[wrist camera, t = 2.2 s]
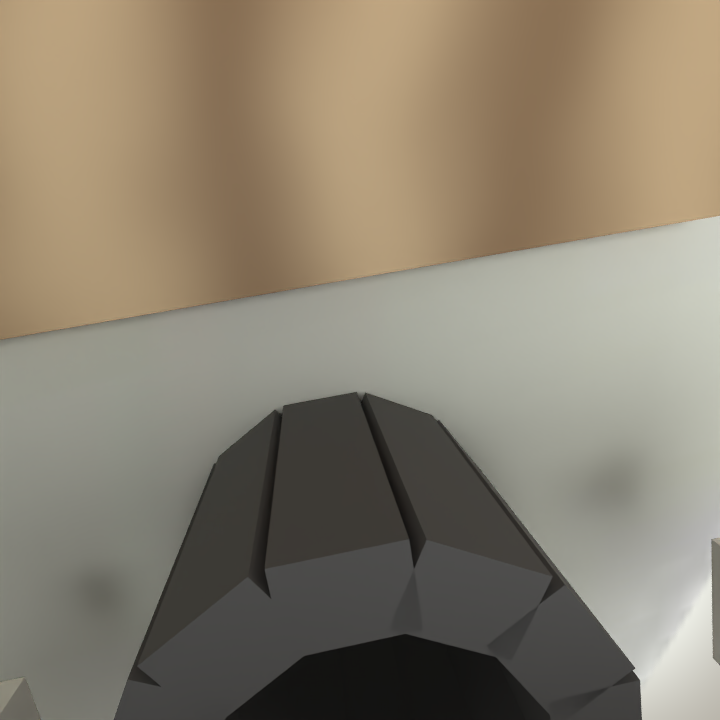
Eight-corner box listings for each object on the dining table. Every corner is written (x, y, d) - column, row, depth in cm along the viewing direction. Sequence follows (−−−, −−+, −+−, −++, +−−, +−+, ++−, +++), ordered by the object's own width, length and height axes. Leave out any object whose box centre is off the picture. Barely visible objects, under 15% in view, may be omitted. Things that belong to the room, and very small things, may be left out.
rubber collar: (232, 688, 15) (175, 1046, 8) (163, 428, 13) (21, 619, 7) (501, 628, 16) (651, 921, 9) (470, 371, 14) (631, 493, 7)
